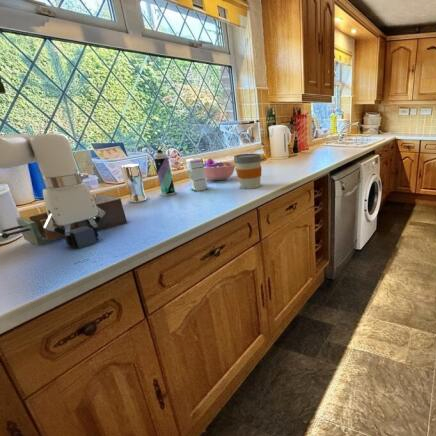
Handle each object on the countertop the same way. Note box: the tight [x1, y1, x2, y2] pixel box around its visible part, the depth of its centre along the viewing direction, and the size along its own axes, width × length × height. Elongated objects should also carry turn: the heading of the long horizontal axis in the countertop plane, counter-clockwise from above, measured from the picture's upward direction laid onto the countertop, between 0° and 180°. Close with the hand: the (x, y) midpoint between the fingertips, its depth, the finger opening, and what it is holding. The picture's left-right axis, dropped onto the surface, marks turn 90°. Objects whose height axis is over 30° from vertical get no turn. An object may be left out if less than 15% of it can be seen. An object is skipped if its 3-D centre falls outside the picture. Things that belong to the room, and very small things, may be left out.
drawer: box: [0, 211, 77, 247], centre depth 88 cm, size 18×10×7 cm, turn 151°
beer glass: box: [120, 163, 148, 203], centre depth 127 cm, size 7×7×15 cm
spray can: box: [153, 149, 176, 197], centre depth 135 cm, size 6×6×20 cm
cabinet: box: [76, 194, 128, 233], centre depth 99 cm, size 14×12×9 cm
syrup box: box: [185, 157, 208, 192], centre depth 142 cm, size 6×6×14 cm
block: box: [70, 226, 98, 249], centre depth 86 cm, size 4×4×4 cm
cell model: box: [203, 158, 236, 181], centre depth 161 cm, size 17×20×11 cm
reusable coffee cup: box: [233, 153, 262, 190], centre depth 144 cm, size 13×13×15 cm
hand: (84, 242), depth 87 cm, fingers closed on block, 4 cm apart
